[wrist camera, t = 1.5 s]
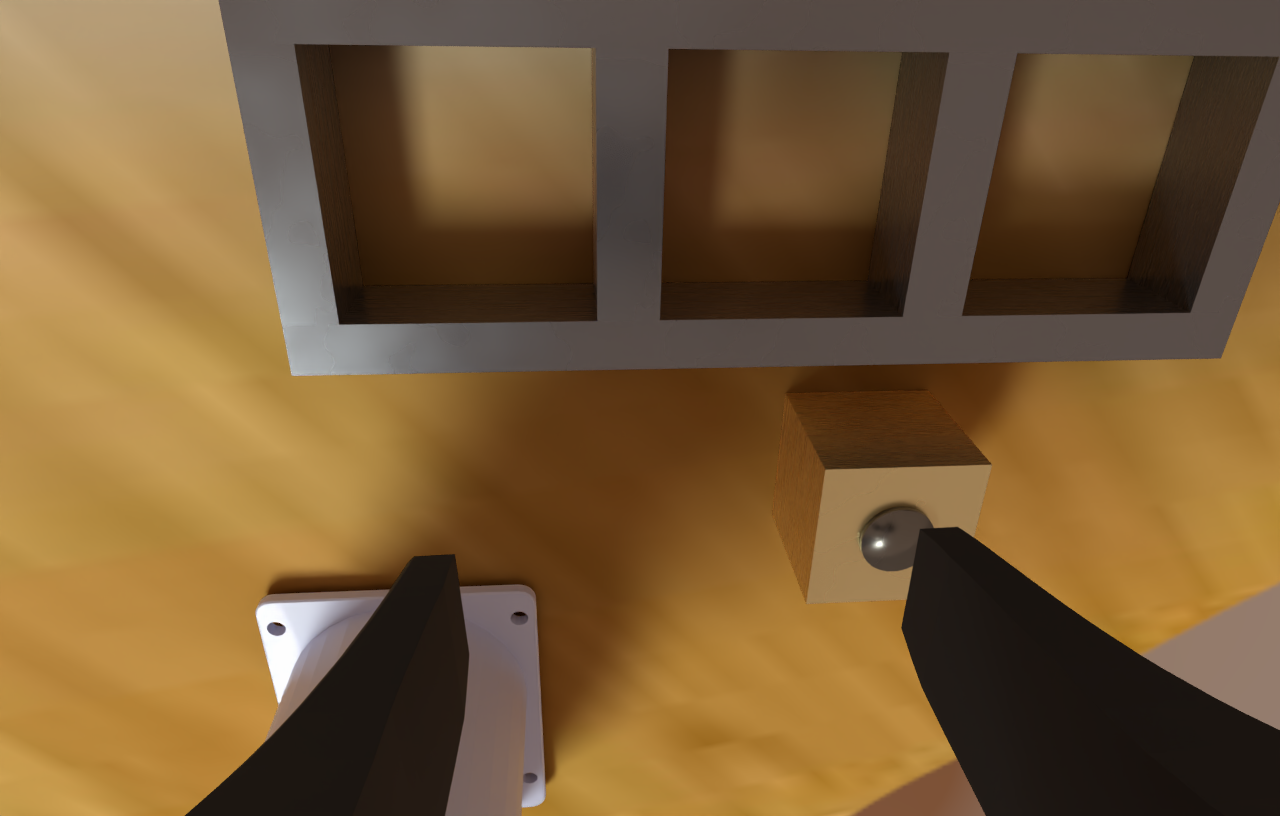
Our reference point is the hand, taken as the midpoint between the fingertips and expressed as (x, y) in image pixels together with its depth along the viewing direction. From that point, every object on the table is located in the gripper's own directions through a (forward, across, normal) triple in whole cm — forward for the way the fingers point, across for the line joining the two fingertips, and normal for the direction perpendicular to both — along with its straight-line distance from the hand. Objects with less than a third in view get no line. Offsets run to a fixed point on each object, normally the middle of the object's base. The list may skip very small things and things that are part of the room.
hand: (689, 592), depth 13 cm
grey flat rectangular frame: (+10, -3, -4) cm, 11 cm away
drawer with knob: (+10, -6, +4) cm, 12 cm away
